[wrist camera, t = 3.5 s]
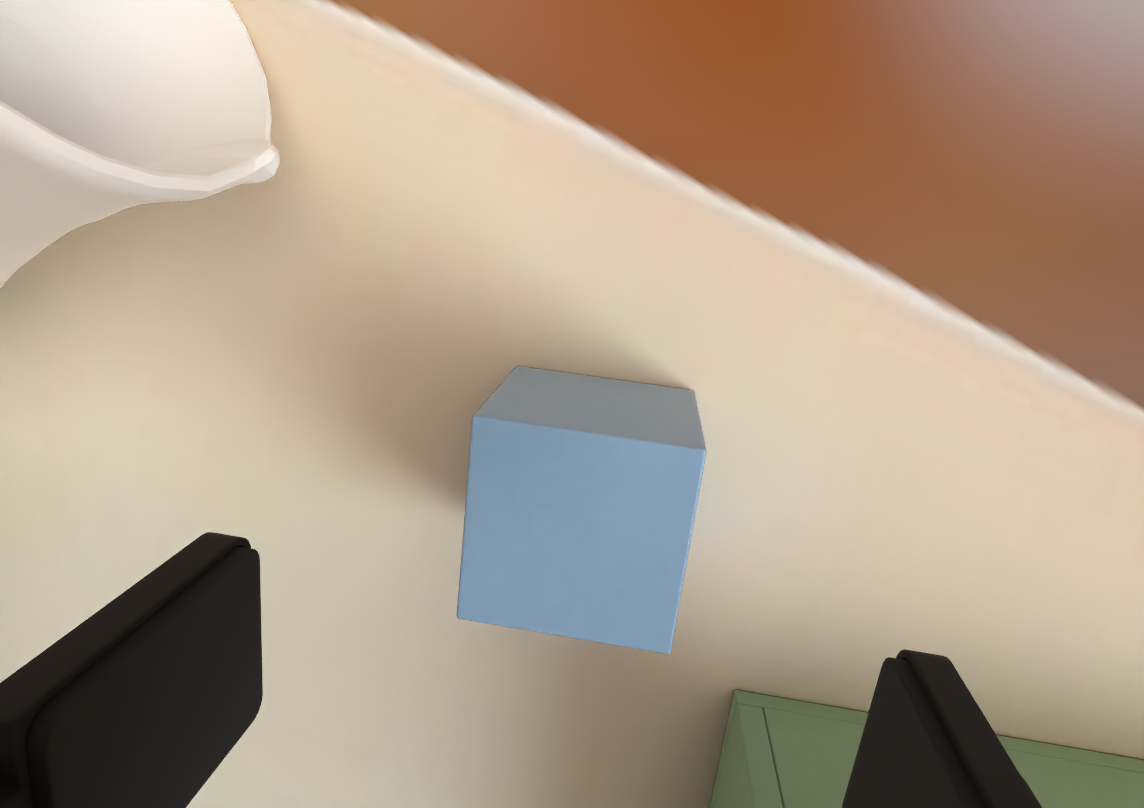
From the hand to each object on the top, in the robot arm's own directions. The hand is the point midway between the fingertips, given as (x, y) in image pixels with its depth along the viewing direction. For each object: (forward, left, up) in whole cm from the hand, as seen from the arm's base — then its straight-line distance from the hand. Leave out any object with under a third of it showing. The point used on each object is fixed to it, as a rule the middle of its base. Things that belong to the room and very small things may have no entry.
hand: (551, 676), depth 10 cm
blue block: (0, 0, -10) cm, 10 cm away
